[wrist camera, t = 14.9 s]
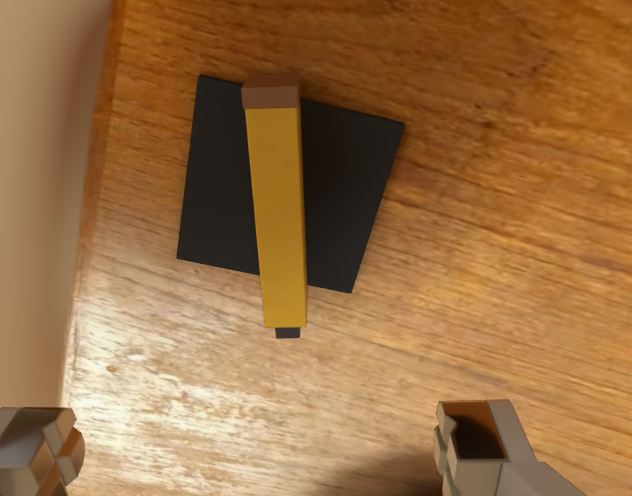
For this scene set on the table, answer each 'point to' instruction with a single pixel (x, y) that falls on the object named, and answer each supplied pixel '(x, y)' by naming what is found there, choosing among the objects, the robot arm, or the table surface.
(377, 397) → the table surface
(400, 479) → the table surface
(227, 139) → the mat
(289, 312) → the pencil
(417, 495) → the table surface
